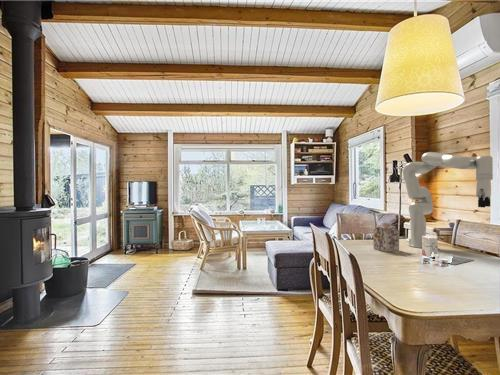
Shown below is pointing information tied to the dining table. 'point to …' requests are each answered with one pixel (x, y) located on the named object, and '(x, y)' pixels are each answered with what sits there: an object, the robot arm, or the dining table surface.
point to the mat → (459, 260)
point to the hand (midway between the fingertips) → (484, 206)
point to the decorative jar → (386, 238)
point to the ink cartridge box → (429, 244)
